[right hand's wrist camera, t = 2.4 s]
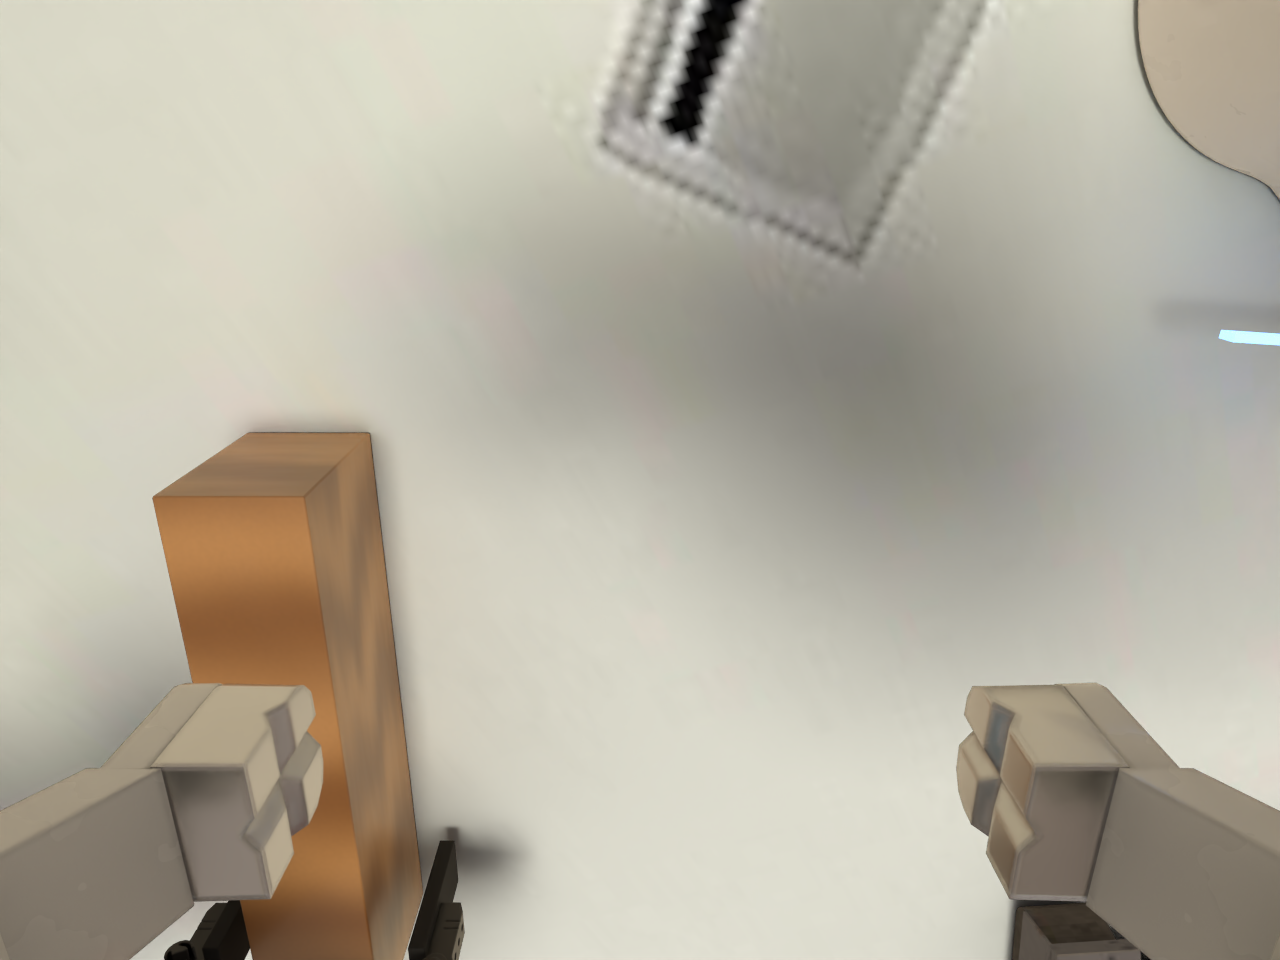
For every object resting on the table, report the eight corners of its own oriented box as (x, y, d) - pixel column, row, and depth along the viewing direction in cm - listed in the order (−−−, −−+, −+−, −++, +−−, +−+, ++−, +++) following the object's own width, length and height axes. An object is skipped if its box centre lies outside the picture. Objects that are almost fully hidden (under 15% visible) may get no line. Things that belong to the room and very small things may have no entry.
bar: (246, 432, 37) (150, 496, 30) (370, 432, 37) (304, 496, 30) (325, 892, 47) (266, 1027, 39) (423, 892, 47) (383, 1027, 39)
